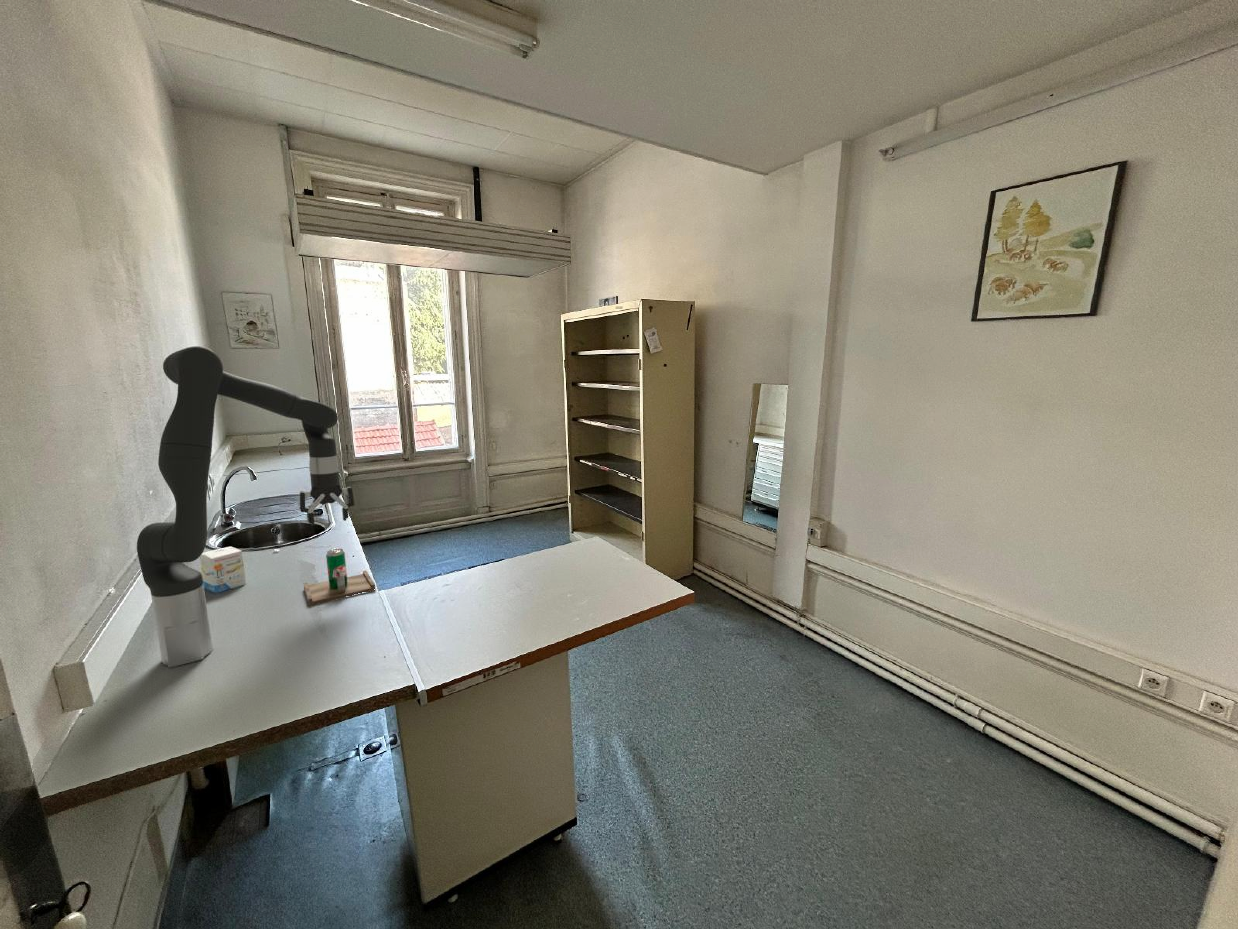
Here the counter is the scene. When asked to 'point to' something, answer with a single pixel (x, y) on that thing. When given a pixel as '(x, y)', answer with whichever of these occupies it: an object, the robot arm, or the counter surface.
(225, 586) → the ink box
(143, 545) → the robot arm
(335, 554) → the soda can
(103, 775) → the counter surface
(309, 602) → the tray
